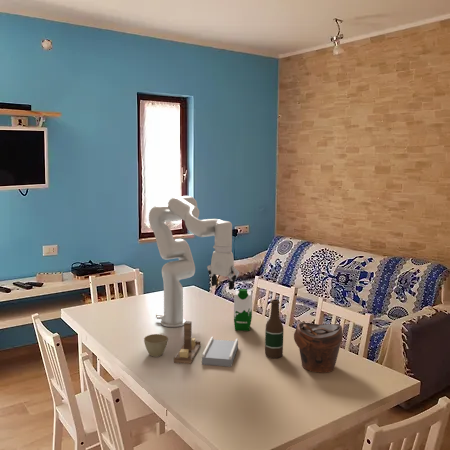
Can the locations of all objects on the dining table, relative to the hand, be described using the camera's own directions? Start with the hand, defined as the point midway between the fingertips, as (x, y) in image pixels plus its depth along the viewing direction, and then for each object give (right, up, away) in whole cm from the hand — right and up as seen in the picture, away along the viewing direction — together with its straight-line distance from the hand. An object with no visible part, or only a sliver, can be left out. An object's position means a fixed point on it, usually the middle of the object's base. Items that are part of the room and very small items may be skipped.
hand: (222, 287), depth 215 cm
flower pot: (-28, -27, -10) cm, 40 cm away
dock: (-1, -28, -10) cm, 29 cm away
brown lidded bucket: (+38, -30, -19) cm, 52 cm away
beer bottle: (+22, -28, -9) cm, 36 cm away
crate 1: (-16, -27, -16) cm, 35 cm away
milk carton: (+10, -23, +23) cm, 34 cm away
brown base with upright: (-15, -27, -9) cm, 32 cm away
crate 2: (-14, -25, -3) cm, 29 cm away
